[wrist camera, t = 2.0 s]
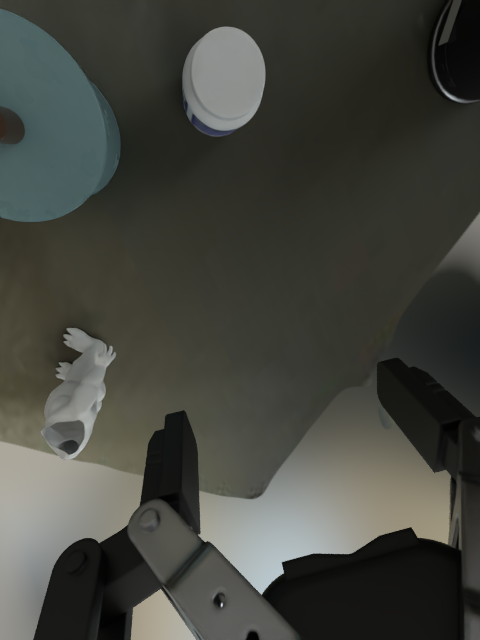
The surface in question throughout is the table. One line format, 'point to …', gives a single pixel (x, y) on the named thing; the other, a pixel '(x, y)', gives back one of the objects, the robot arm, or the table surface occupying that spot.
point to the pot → (49, 127)
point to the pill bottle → (223, 81)
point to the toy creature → (76, 395)
